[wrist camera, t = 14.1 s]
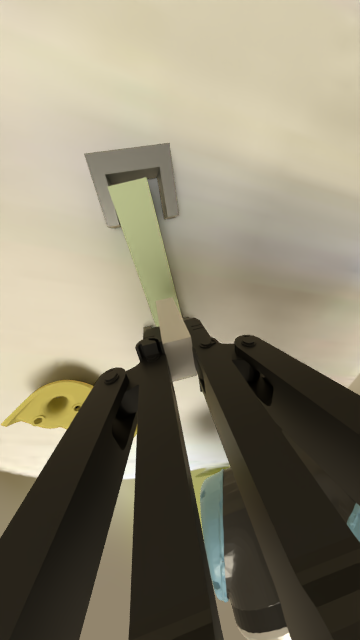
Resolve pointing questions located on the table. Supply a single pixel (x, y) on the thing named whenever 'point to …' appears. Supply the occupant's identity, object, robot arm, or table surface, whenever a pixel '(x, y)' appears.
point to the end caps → (133, 177)
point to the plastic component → (52, 405)
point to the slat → (144, 240)
